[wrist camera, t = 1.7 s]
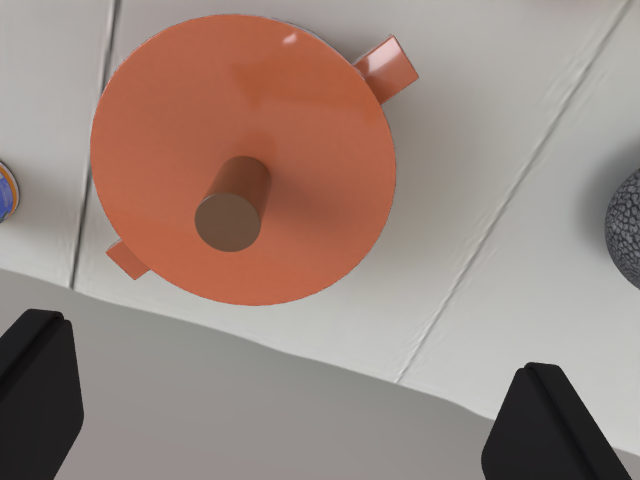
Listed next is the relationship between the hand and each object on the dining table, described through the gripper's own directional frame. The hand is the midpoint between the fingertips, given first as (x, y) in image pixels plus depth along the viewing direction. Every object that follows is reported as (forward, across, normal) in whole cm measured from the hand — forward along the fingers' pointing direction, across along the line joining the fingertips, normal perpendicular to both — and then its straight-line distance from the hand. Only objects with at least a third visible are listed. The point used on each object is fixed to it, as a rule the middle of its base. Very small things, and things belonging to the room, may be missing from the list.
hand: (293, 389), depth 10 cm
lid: (+16, +3, +2) cm, 16 cm away
